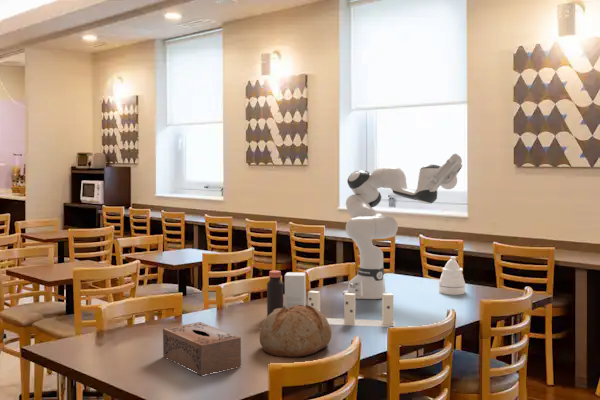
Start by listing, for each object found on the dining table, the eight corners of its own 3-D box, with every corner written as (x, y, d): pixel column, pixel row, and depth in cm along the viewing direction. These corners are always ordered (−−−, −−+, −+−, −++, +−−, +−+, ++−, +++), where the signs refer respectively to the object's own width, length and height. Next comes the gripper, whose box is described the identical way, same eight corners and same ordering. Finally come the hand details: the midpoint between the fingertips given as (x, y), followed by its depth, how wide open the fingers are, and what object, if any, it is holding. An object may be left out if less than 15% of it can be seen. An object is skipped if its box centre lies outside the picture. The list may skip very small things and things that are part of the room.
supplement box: (306, 304, 307) (306, 272, 306) (304, 308, 298) (304, 275, 297) (286, 304, 308) (286, 271, 307) (284, 308, 299) (284, 275, 298)
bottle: (269, 321, 276) (268, 273, 274) (265, 317, 282) (265, 270, 281) (285, 320, 278) (285, 272, 276) (281, 316, 284) (281, 269, 283)
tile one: (382, 322, 271) (382, 293, 270) (392, 322, 271) (392, 293, 270) (383, 324, 268) (383, 295, 267) (393, 324, 268) (393, 295, 267)
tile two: (345, 322, 272) (345, 293, 272) (355, 322, 271) (355, 293, 271) (344, 324, 269) (344, 294, 268) (353, 324, 268) (354, 295, 267)
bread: (295, 334, 255) (295, 296, 254) (344, 345, 240) (345, 304, 239) (246, 350, 235) (246, 308, 234) (297, 363, 220) (297, 318, 219)
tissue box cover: (240, 368, 216) (240, 337, 215) (201, 377, 207) (201, 345, 206) (200, 349, 236) (200, 322, 235) (163, 357, 227) (162, 328, 226)
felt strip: (305, 324, 271) (305, 323, 270) (308, 318, 280) (308, 317, 280) (394, 328, 264) (394, 327, 264) (395, 321, 274) (395, 320, 274)
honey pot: (467, 294, 328) (468, 258, 327) (441, 294, 328) (441, 258, 327) (461, 289, 341) (462, 254, 339) (436, 289, 341) (437, 254, 340)
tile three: (311, 319, 277) (311, 290, 276) (320, 320, 275) (320, 291, 274) (307, 320, 274) (307, 292, 274) (316, 322, 272) (316, 293, 272)
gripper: (425, 188, 313) (420, 182, 300) (454, 154, 311) (451, 147, 298) (435, 196, 311) (431, 191, 298) (465, 163, 309) (462, 156, 296)
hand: (441, 169), depth 298 cm, fingers open, 8 cm apart
